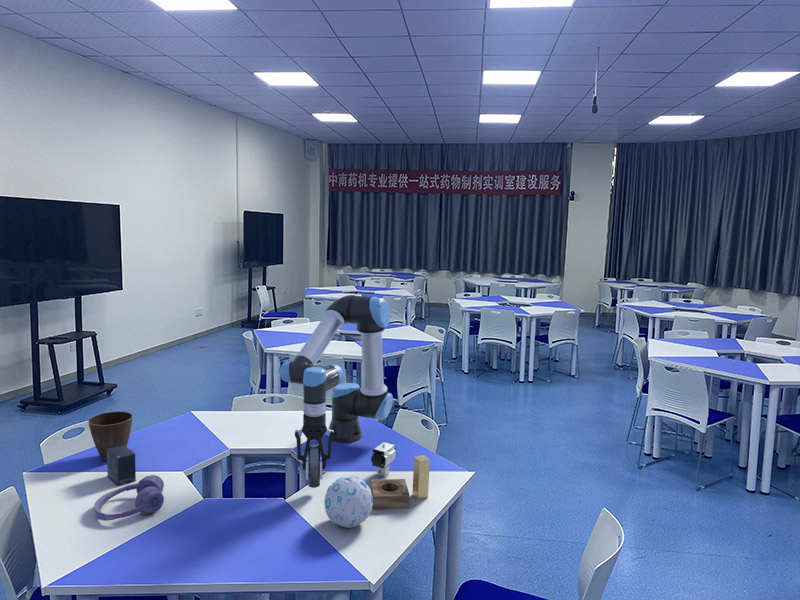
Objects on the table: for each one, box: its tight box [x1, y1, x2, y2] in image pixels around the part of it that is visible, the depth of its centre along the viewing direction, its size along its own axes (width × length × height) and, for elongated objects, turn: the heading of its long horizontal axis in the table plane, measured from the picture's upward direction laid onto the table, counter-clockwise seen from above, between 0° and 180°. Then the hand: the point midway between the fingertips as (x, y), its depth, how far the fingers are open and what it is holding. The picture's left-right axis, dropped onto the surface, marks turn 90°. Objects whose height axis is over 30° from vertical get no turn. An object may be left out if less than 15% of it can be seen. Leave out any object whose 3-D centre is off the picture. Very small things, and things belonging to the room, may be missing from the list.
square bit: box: [412, 454, 431, 501], centre depth 190 cm, size 4×4×14 cm
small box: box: [106, 445, 137, 487], centre depth 195 cm, size 11×6×10 cm, turn 47°
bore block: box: [370, 478, 410, 510], centre depth 187 cm, size 12×12×4 cm
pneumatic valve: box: [370, 441, 397, 477], centre depth 205 cm, size 6×12×12 cm, turn 152°
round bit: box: [307, 443, 321, 489], centre depth 188 cm, size 4×4×14 cm
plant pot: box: [88, 411, 133, 462], centre depth 211 cm, size 15×15×16 cm
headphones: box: [93, 474, 165, 521], centre depth 176 cm, size 18×8×20 cm
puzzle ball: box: [324, 475, 373, 529], centre depth 171 cm, size 15×15×15 cm
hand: (314, 477), depth 189 cm, fingers closed on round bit, 4 cm apart
